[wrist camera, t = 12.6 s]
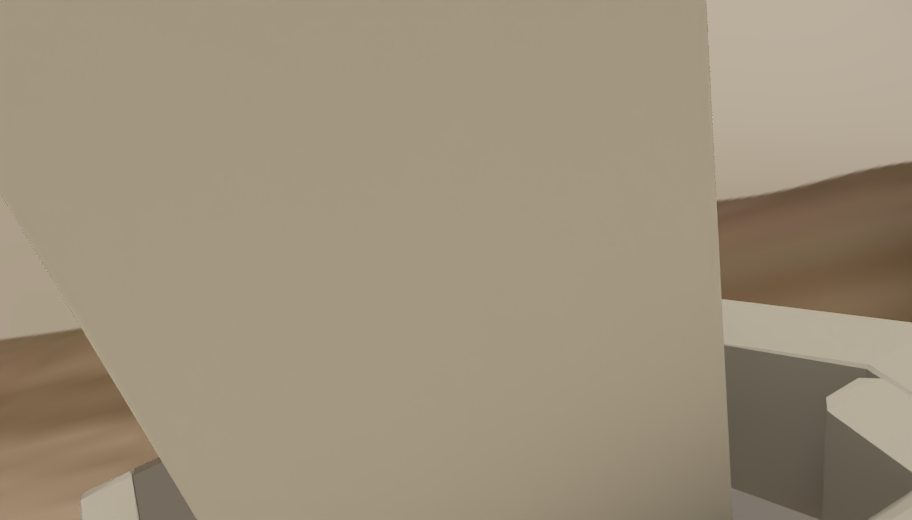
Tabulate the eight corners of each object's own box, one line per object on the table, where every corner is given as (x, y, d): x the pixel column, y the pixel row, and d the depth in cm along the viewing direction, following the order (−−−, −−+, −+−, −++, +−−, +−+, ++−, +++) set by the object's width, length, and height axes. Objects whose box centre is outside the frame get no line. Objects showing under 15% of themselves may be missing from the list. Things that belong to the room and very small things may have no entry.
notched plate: (519, 595, 15) (258, -298, 8) (755, 949, 10) (678, -560, 3) (374, 683, 14) (-80, -218, 7) (553, 1110, 9) (-345, -384, 2)
